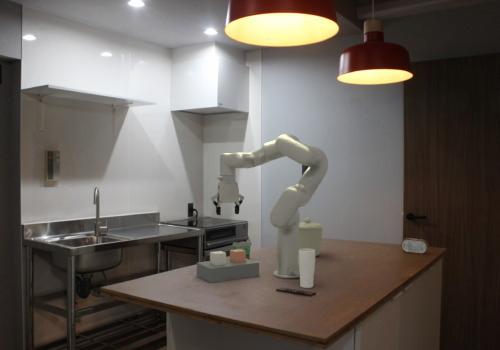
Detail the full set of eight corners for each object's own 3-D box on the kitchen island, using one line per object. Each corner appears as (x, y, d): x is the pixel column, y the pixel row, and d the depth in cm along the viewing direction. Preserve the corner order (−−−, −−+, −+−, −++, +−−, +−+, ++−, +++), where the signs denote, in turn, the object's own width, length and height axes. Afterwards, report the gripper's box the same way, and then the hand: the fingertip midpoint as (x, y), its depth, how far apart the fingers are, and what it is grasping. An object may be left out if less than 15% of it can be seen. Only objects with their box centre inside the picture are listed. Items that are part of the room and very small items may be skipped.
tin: (428, 254, 255) (429, 239, 254) (427, 255, 252) (427, 240, 252) (401, 251, 263) (401, 237, 262) (400, 252, 260) (400, 237, 260)
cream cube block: (226, 265, 195) (226, 252, 195) (215, 266, 192) (215, 253, 192) (220, 263, 200) (220, 251, 200) (210, 264, 197) (210, 252, 197)
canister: (330, 256, 245) (331, 218, 245) (305, 260, 235) (306, 220, 235) (308, 251, 260) (308, 215, 260) (284, 254, 250) (284, 217, 250)
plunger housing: (259, 276, 199) (259, 262, 199) (210, 282, 186) (210, 268, 186) (243, 270, 211) (243, 257, 211) (196, 276, 198) (196, 262, 198)
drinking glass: (310, 289, 177) (311, 252, 176) (295, 287, 180) (295, 250, 180) (317, 286, 182) (318, 249, 182) (302, 283, 186) (302, 247, 186)
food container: (241, 263, 227) (241, 243, 227) (232, 261, 230) (232, 242, 230) (256, 259, 236) (256, 240, 236) (247, 257, 240) (247, 239, 240)
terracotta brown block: (245, 263, 200) (245, 250, 200) (235, 264, 198) (235, 251, 198) (239, 261, 205) (239, 249, 205) (229, 262, 202) (229, 250, 202)
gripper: (214, 179, 207) (214, 216, 207) (247, 178, 215) (247, 214, 216) (208, 179, 214) (208, 214, 214) (240, 178, 222) (240, 213, 222)
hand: (227, 214), depth 215 cm, fingers open, 9 cm apart
